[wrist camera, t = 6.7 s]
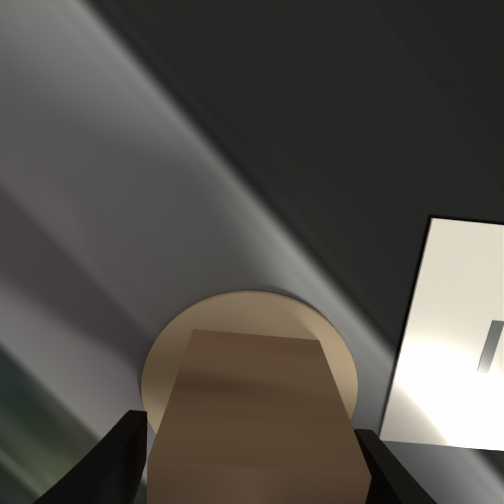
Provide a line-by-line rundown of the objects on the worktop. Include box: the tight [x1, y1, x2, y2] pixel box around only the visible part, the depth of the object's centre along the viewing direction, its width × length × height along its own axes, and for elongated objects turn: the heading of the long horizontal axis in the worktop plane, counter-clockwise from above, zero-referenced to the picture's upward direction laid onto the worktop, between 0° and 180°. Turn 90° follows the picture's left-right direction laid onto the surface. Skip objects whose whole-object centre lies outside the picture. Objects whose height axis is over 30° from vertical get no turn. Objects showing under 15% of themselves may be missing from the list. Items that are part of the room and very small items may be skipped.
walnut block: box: [147, 329, 372, 504], centre depth 11 cm, size 5×5×6 cm
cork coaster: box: [141, 290, 358, 435], centre depth 14 cm, size 9×9×1 cm
